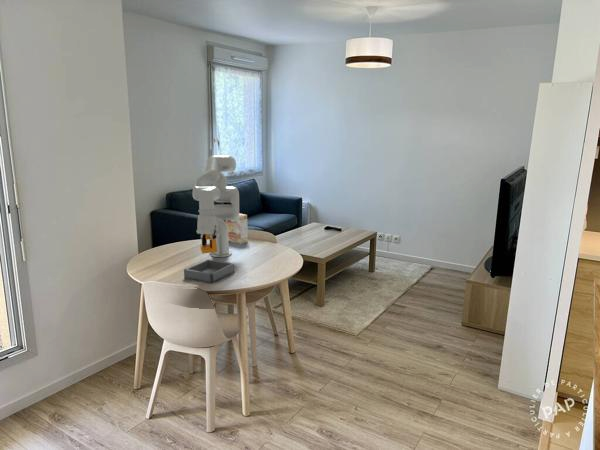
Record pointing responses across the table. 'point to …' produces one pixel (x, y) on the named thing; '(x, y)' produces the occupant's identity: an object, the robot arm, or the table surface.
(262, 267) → the table surface
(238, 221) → the coffeecake box
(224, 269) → the tray
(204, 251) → the bracket
